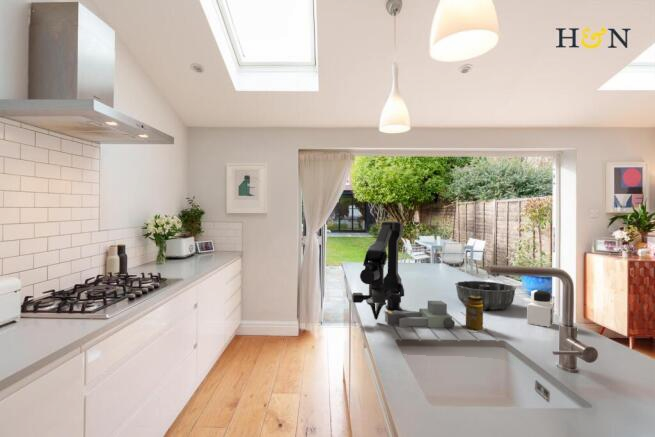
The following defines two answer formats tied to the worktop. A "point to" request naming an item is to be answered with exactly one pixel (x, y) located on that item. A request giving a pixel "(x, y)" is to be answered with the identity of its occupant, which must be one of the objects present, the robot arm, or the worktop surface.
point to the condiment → (474, 314)
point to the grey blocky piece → (429, 316)
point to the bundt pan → (487, 293)
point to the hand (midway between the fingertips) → (375, 319)
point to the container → (540, 309)
